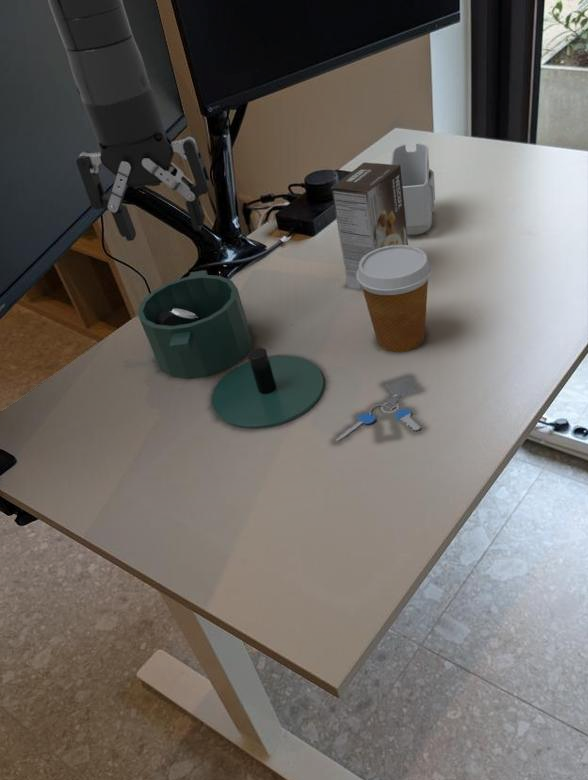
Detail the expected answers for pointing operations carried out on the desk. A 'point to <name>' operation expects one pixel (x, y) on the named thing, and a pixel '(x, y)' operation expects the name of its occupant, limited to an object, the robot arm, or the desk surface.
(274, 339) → the desk surface
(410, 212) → the cable organizer
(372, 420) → the key chain
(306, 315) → the desk surface
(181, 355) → the pot
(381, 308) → the disposable coffee cup
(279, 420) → the lid
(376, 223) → the coffee box
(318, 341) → the desk surface
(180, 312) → the watch
